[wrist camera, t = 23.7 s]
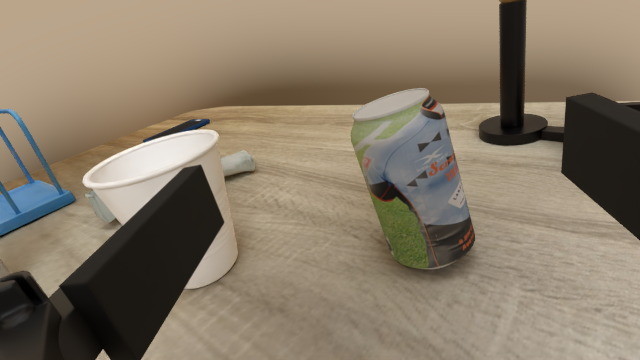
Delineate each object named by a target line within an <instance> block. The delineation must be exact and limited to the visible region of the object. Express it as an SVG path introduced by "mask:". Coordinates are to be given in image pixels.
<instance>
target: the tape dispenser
mask: <svg viewBox="0 0 640 360" xmlns="http://www.w3.org/2000/svg"><path fill="white" fill-rule="evenodd" d="M220 158H221V164H222V169H223V174H224V176H228V175H232V174H235V173H239V172H243V171H254V170H255V162H254V159H253V157H252V155H251V154H250V153H248V152H246V151H245V150H241V151H240V152H238V153H236V154H233V155H229V156H224V157H220ZM85 197H88V199H89V201H90V203H91V205H92V207H93V209H94V211H95V213H96V215H97V216H98V217H99V218H100V219H101V220H102V221H104V222H109V223H110V222H111V221H113V220H114V219H115V218H116V217H115V216H114V215H113V214H112V212H111V211H110V210H109V209H108V208H107V206H106V205H105V204H104V203H103V202H102V200H101V199H100V198H99V197H98V195H97V194H96V193H95V192H94V191H93V189H92V190H91V191H90V192H89V193H85Z"/></svg>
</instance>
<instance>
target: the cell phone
mask: <svg viewBox="0 0 640 360" xmlns="http://www.w3.org/2000/svg"><path fill="white" fill-rule="evenodd" d="M209 122H210V120H209V119H193V120H189V121H187V122H185V123H182V124H180V125H178V126H175V127H173V128H171V129H168V130H166V131H164V132H161V133H159V134H157V135H154V136H152V137H149V138H147V139H145V140H143V143H145V142H148V141H151V140H154V139H157V138H161V137H164V136H168V135H172V134H176V133H180V132H185V131H192V130H194V129H196V128H199V127H201V126H203V125H205V124H207V123H209Z"/></svg>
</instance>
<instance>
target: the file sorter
mask: <svg viewBox="0 0 640 360" xmlns="http://www.w3.org/2000/svg"><path fill="white" fill-rule="evenodd" d="M0 113H9V114H11V115H12V116H13V117H14V119H15V120H16V121H17V122H18V124H19V126H20V127H21V129H22V130H23V132H24V134H25V136H26V137H27V139H28V141H29V142H30V144H31V146H32V148H33V149H34V151H35V153H36V155H37V156H38V158H39V160H40V161H41V163H42V165H43V167H44V168H45V170H46V172H47V174H48V175H49V177H50V179H51V181H52V182H53V184H54V185H51V184H48V183H45V182H42V181H39V180H35V181H33V179H32V177H31V176H30V174H29V173H28V171H27V169H26V168H25V166H24V165H23V163H22V161H21V160H20V158H19V157H18V155H17V153H16V152H15V150H14V148H13V147H12V145H11V143H10V142H9V140H8V139H7V137H6V135H5V134H4V132H3V130H2V129H1V127H0V135H1V137H2V138H3V140H4V142H5V143H6V145H7V146H8V148H9V150H10V151H11V153H12V155H13V156H14V158H15V159H16V161H17V163H18V164H19V166H20V168H21V169H22V171H23V172H24V174H25V176H26V177H27V179H28V180H29V182H30V183H28V184H25V185H23V186H21V187H18V188H16V189H13V190H11V191H8V192H7V191H6V189H5V188H4V186H3V185H2V183H1V182H0V191H1V193H2V194H1V195H0V236H1V235H3V234H5V233H7V232H9V231H11V230H14V229H16V228H18V227H20V226H22V225H24V224H26V223H28V222H31V221H33V220H35V219H37V218H39V217H41V216H43V215H45V214H48V213H51V212H53V211H55V210H57V209H59V208H61V207H63V206H66V205H68V204H70V203H71V202H73V201H75V198H74V196H73V195H72V193H71V192H70V191H67V190H65V189H62V188H61V187H60V185H59V183H58V181H57V180H56V178H55V176H54V174H53V173H52V171H51V169H50V167H49V166H48V164H47V162H46V160H45V159H44V157H43V155H42V154H41V152H40V150H39V148H38V146H37V145H36V143H35V141H34V139H33V138H32V136H31V134H30V132H29V131H28V129H27V127H26V126H25V124H24V123H23V121H22V120H21V118H20V117H19V116H18V114H17V113H16V112H15V111H13V110H12V109H0Z"/></svg>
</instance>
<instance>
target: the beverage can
mask: <svg viewBox="0 0 640 360" xmlns="http://www.w3.org/2000/svg"><path fill="white" fill-rule="evenodd" d="M352 118H353V119H354V124H353V127H352V131H351V142H352V144H353V147H354V150H355V153H356V156H357V159H358V161H359V164H360V167H361V170H362V173H363V176H364V178H365V181H366V184H367V187H368V190H369V192H370V195H371V198H372V201H373V204H374V207H375V209H376V212H377V215H378V218H379V221H380V224H381V226H382V229H383V232H384V235H385V238H386V241H387V243H388V246H389V249H390V252H391V254H392V256H393V258H394V259H395V260H396V261H397V262H399V263H401V264H403V265H405V266H408V267H412V268H419V269H438V268H442V267H445V266H448V265H450V264H452V263H454V262H455V261H457V260H458V259H460V258H461V257H463V256H464V255H465V254H466V253H467V252H468V251H469V250H470V249H471V247H472V246H473V244H474V241H475V234H474V230H473V226H472V222H471V218H470V214H469V210H468V206H467V202H466V198H465V194H464V190H463V186H462V182H461V178H460V174H459V170H458V166H457V162H456V158H455V154H454V150H453V146H452V142H451V138H450V134H449V130H448V126H447V122H446V118H445V114H444V110H443V108H442V106H441V105H440V104H439V103H438V102H436V101H435V100H434V99H433V98H431V97H430V95H429V91H428V90H427V89H424V88H416V89H410V90H405V91H401V92H397V93H394V94H391V95H388V96H385V97H382V98H380V99H377V100H375V101H372V102H370V103H368V104H366V105H364V106H362V107H361V108H359V109H358V110H356V111H355V112H354V113H353V115H352Z"/></svg>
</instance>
